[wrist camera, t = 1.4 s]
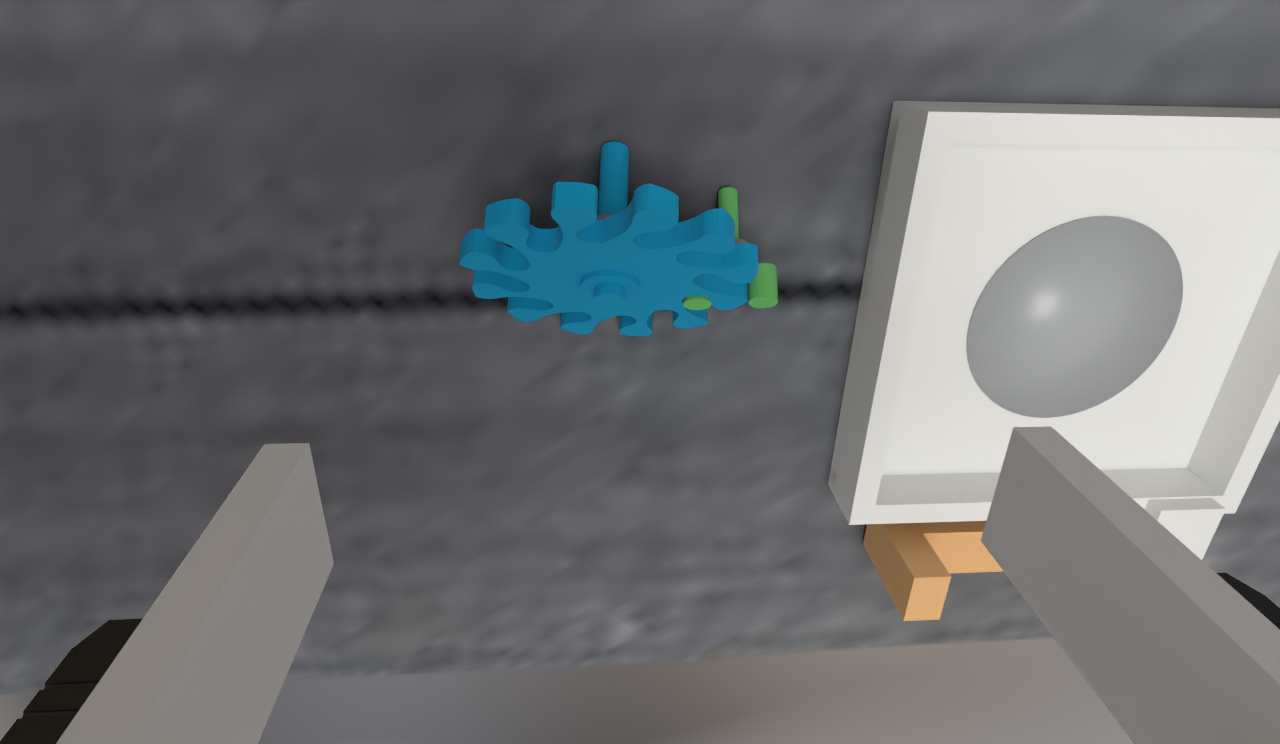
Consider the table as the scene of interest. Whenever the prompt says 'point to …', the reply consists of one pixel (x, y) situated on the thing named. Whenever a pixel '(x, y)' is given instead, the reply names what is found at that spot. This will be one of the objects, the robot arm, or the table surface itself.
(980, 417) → the tray
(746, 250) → the gear
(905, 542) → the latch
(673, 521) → the table surface
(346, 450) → the table surface
